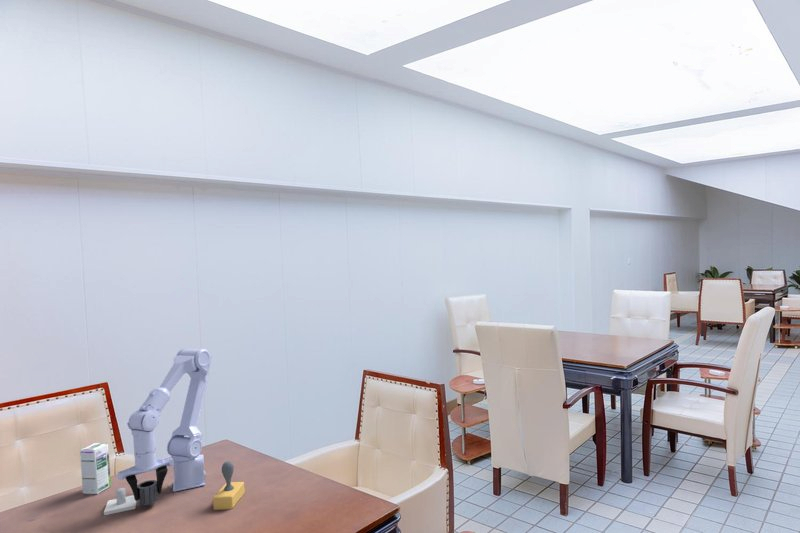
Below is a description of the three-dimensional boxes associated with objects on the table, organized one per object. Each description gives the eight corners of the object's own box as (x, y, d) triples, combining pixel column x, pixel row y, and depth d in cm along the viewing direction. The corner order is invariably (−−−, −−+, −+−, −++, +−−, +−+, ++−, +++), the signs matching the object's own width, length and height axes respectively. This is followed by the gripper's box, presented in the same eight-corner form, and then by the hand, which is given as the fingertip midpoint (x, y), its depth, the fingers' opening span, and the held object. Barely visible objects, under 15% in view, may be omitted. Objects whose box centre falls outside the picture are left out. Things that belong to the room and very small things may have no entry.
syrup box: (97, 494, 156) (95, 449, 156) (81, 493, 157) (79, 449, 157) (111, 486, 162) (109, 442, 162) (96, 485, 163) (93, 442, 163)
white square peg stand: (137, 497, 153) (136, 481, 153) (135, 508, 145) (134, 492, 145) (108, 503, 150) (107, 487, 150) (104, 515, 142) (103, 498, 142)
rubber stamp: (226, 493, 152) (224, 455, 152) (245, 493, 152) (242, 454, 152) (213, 509, 142) (210, 468, 142) (232, 509, 142) (230, 468, 142)
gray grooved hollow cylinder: (158, 494, 150) (157, 478, 150) (157, 502, 145) (156, 485, 145) (139, 499, 148) (138, 482, 148) (137, 506, 143) (136, 489, 143)
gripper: (168, 440, 154) (170, 483, 154) (115, 454, 145) (118, 499, 145) (173, 446, 148) (176, 491, 148) (119, 461, 139) (122, 508, 139)
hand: (148, 495), depth 146 cm, fingers closed on gray grooved hollow cylinder, 6 cm apart
